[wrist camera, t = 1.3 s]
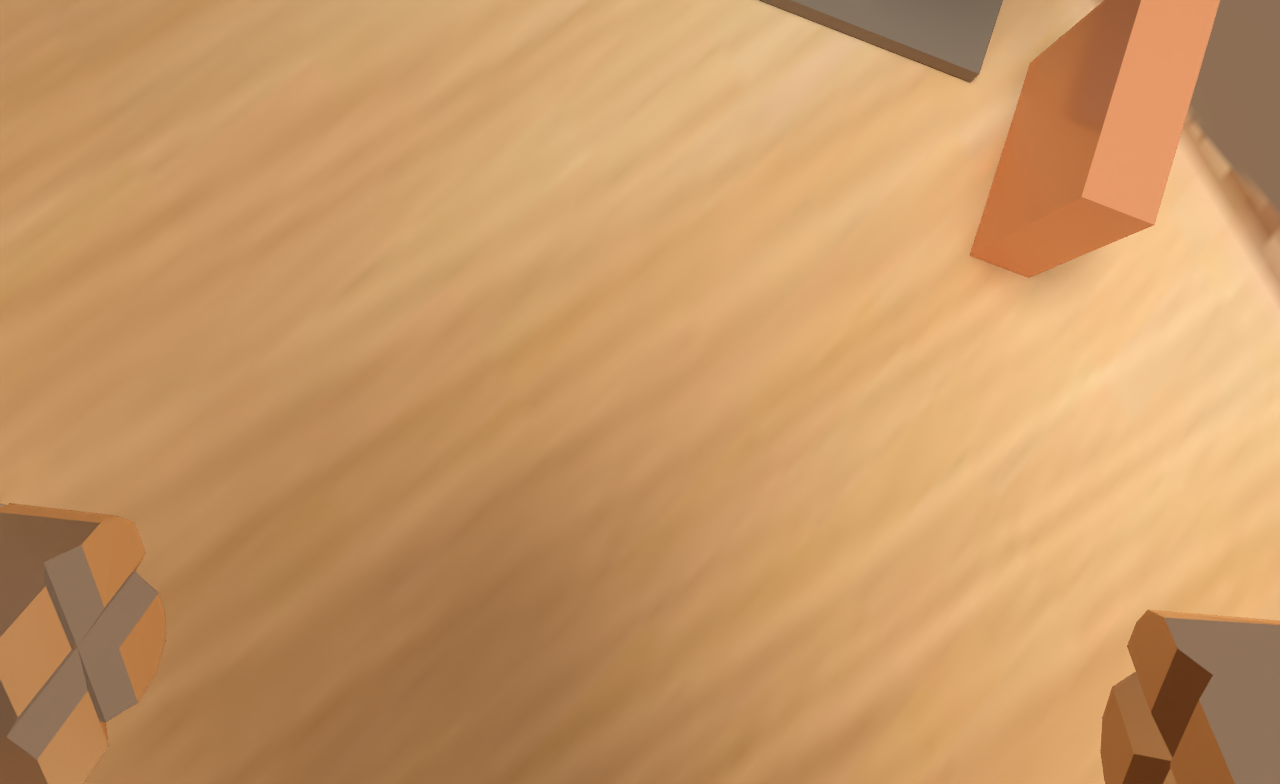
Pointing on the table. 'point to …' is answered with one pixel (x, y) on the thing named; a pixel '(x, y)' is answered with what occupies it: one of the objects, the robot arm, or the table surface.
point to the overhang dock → (912, 27)
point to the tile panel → (1094, 133)
